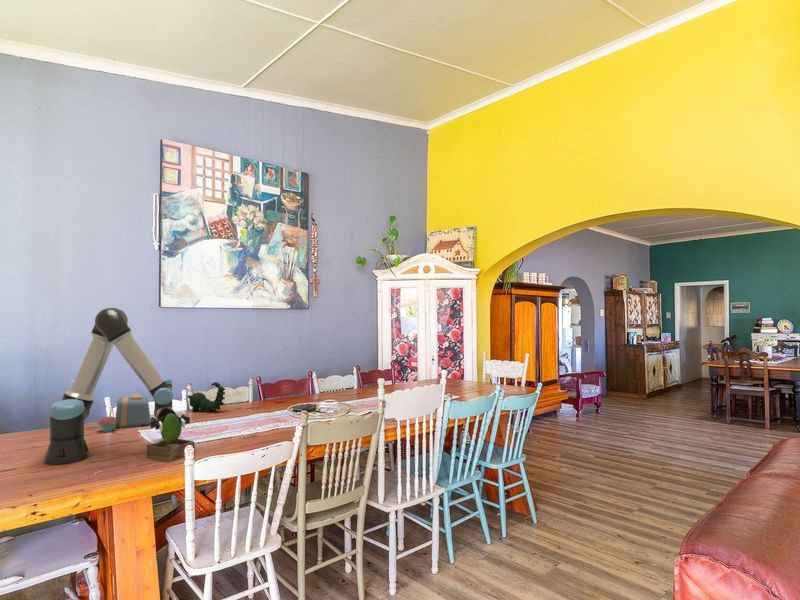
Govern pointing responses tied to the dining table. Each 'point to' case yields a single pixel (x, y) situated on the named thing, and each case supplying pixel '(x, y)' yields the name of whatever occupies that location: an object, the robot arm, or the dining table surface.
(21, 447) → the dining table surface
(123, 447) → the dining table surface
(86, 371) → the robot arm
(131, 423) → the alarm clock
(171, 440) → the avocado
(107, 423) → the cupcake
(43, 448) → the dining table surface
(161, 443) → the walnut stand
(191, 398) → the toy figurine
